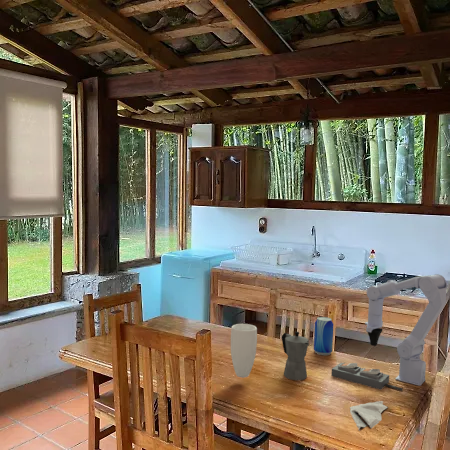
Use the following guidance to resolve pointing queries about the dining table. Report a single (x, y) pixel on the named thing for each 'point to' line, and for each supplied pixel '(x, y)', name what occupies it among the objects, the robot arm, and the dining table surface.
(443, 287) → the robot arm
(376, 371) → the rocker inner
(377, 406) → the cloth
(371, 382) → the power strip
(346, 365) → the rocker outer
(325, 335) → the beer can
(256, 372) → the dining table surface
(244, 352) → the cup
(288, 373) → the coffeepot
